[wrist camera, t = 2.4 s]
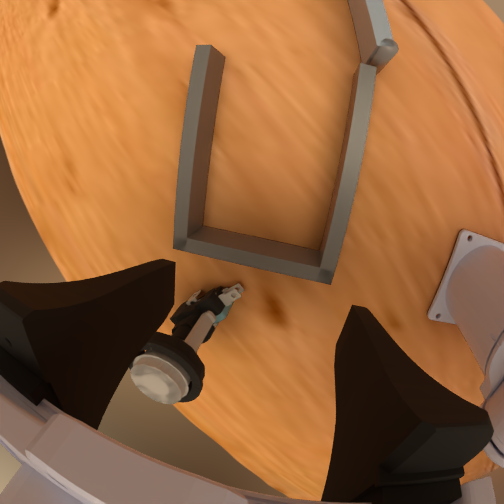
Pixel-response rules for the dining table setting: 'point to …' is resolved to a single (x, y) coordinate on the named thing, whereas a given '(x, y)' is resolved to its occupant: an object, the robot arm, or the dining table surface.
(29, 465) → the robot arm
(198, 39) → the dining table surface
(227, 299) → the push button
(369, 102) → the duct bay
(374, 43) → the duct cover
